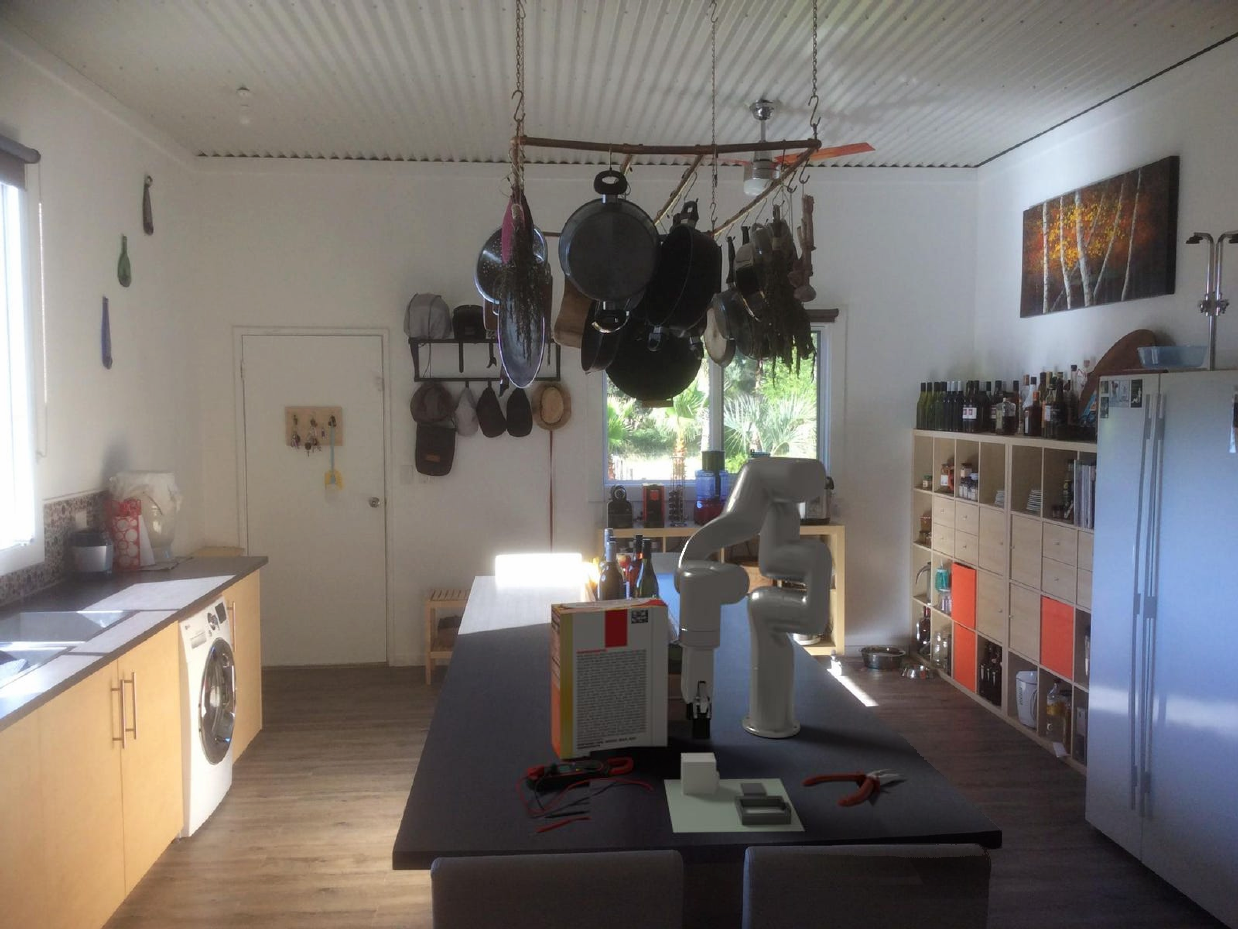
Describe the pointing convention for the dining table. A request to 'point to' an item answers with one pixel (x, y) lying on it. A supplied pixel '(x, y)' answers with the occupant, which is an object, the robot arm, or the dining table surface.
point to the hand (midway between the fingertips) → (697, 729)
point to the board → (725, 807)
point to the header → (763, 817)
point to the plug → (699, 773)
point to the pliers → (867, 782)
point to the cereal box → (608, 675)
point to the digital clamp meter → (573, 780)
